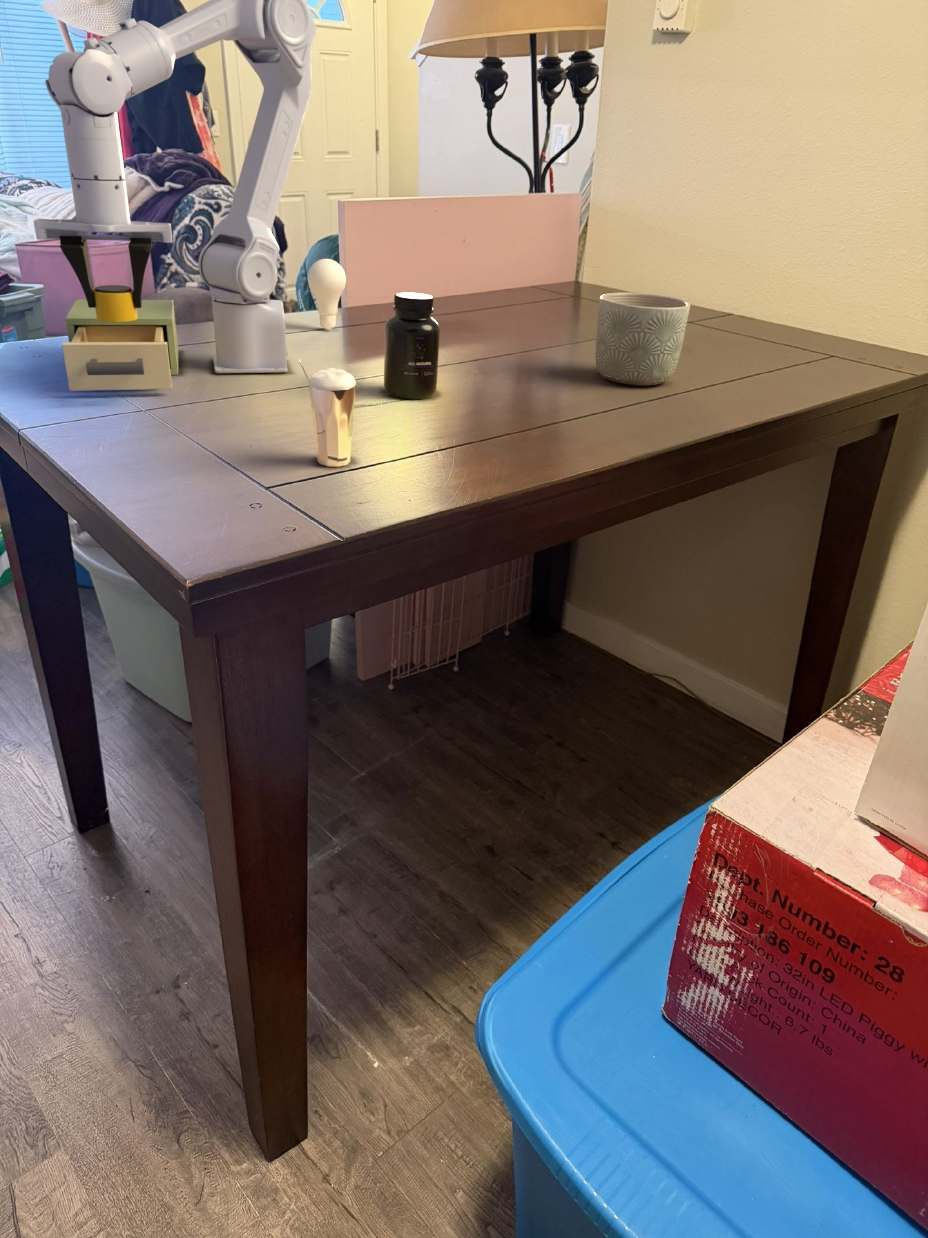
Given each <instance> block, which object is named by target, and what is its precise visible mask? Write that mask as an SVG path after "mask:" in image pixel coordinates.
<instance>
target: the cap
mask: <svg viewBox="0 0 928 1238" xmlns="http://www.w3.org/2000/svg"><path fill="white" fill-rule="evenodd" d="M93 296H94V302H95V310H96V317H97V319H98V320H100V321H104V322H129V321H134V320H136V319H137V318H138V317H137V309H136V308H135V303H134V289H132V287H131V286H127V285H121V284H120V285H118V284H106V285H98V286H95V287H94V290H93Z"/></svg>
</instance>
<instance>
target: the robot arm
mask: <svg viewBox="0 0 928 1238" xmlns="http://www.w3.org/2000/svg"><path fill="white" fill-rule="evenodd" d="M118 25H119V28H120V29H118V30H117V31H115V32H113V33H111V34H108V35H107V36H104V37H101V38H99V39H97V38H96V37H89V38H87V39H84V40H83V45H84V48H83V51H65V52H61V53H59V54H58V55H56V56H55V57H54V58H53V59H52V64H50V65H49V70H48V78H47V79H45V80H44V82H45V86H46V89H47V92H48V95H49V96H50V98H51V100H52V101H53V102H54V104H56V106H57V107H58V109H59V111H60V117H61V123H62V129H63V130H62V131H63V136H64V137H63V138H64V143H65V144H64V145H65V150H66V157H67V164H68V171H69V176H70V184H71V192H72V196H73V197H72V198H73V202H74V203H73V205H74V210H75V219H74V218H73V219H72V218H71V219H70V218H69V219H67V218H65V219H64V218H63V219H61V218H60V219H58V218H57V219H53V218H51V219H44V218H43V219H42V218H36V219H34V220H33V226H34V232H35V237H36V240H59V241H60V244H59V248H60V250H61V252H62V254H63V255H64V256H65V257H64V258H65V259H66V260H67V261H68V263H69V264H70V266H71V268H72V270H73V271H74V273H75V275H76V278H77V279H78V282H79V283H80V286H81V289H82V290H83V293H84V296H85V299H87V303H88V307H89V308H95V302H94V296H93V290H95V287H94V283H93V279H92V274H91V267H90V259H89V248H88V247H89V246H88V241H116V242H117V241H120V242H121V241H122V242H129V243H128V244H127V245H128V254H129V260H130V266H131V274H132V284H133V287H132V288H133V290H134V303H135V308H141V307H142V300H143V298H142V297H143V296H142V295H143V285H144V277H145V272H146V269H147V265H148V261H149V258H150V255H151V252H152V249H153V242H156V243H157V242H158V243H159V242H161V243H167V244H172V243H173V233H172V224H171V222H153V221H151V222H150V221H139V220H138V221H136V220H131V215H130V208H129V206H130V205H129V199H128V191H127V183H126V173H125V167H124V166H125V165H124V158H123V151H122V150H123V149H122V141H121V134H120V125H119V117H118V113H119V112H120V110H121V109H122V107H123V106H124V104H125V101H126V100H128V99H130V98H132V97H134V96H136V95H138V94H140V93H142V92H144V91H146V90H149V89H150V88H153V87H154V86H156V85H158V84H160V83H162V82H164V81H167V80H168V79H169V78H170V77H172V74H173V71H174V66H175V61H176V60H178V59H180V58H182V57H185V56H187V55H190V54H191V53H194V52H197V51H199V50H201V49H203V48H206V47H208V46H210V45H213V44H214V43H217V42H220V41H223V40H224V41H225V42H226V41H227V42H230V41H232V42H233V43H234V45H235V46H236V47H237V49H238V50H239V52H240V53H241V54H242V55H243V57H244V58H245V60H246V61H247V63H248V64H249V65H250V67H251V68H252V69H253V71H254V73H255V74H256V75H257V76H258V78H259V81H260V83H261V84H262V86H263V87H262V88H263V91H262V95H261V99H260V103H259V107H258V110H257V114H256V117H255V121H254V123H253V127H252V131H251V134H250V138H249V141H248V145H247V149H246V152H245V157H244V159H243V163H242V167H241V170H240V173H239V174H240V175H239V177H238V180H237V184H236V188H235V191H234V195H233V198H232V202H231V205H230V209H229V213H228V214H227V216H225V217H224V218H223V219H222V220H221V221H220V222H218V223H217V224H216V225H215V227H214V228H213V231H212V234H211V237H210V239H209V241H208V242H207V243H206V245H204V247H203V248H202V250H201V251H200V253H199V256H198V262H197V264H198V265H197V267H198V268H197V269H198V273H199V276H200V278H201V279H202V281H203V283H204V284H205V285H206V286H208V288H209V296H210V298H211V308H212V319H213V320H212V321H213V332H214V333H213V334H214V344H215V356H213V357H212V360H213V369H214V373H216V374H259V373H261V374H262V373H264V374H265V373H269V374H270V373H288V360H287V359H288V358H287V357H288V345H287V340H286V339H287V337H286V336H287V335H286V319H285V318H286V317H285V310H284V309H285V307H284V303H283V300H280V299H271V298H270V295H271V294H272V293H273V292H274V290H275V288H276V286H277V282H278V265H277V263H278V256H279V252H280V246H279V244H278V242H277V240H276V238H275V236H274V235H273V233H272V228H273V225H274V222H275V218H276V214H277V211H278V208H279V204H280V201H281V197H282V194H283V190H284V188H285V184H286V180H287V177H288V174H289V170H290V168H291V167H290V166H291V164H292V159H293V157H294V152H295V150H296V146H297V143H298V138H299V135H300V132H301V129H302V125H303V121H304V118H305V115H306V112H307V108H308V105H309V101H310V97H311V94H312V54H311V53H312V48H313V45H314V42H315V38H316V34H317V31H318V28H317V25H316V23H315V19H314V18H313V16H312V12H311V10H310V7H309V5H308V2H307V0H208V1H205V2H204V3H202V4H200V5H197V6H196V7H194V8H193V9H191V10H189V11H187V12H185V13H184V14H181V15H180V16H178V17H176V18H174V19H172V20H171V21H168V22H167V23H165V24H163V25H161V26H160V27H157V26H155V25H154V24H152V23H150V22H148V21H146V20H139V21H136V19H135V18H132V17H131V18H126V19H124V20H121V21H119V22H118ZM88 233H104V234H88ZM105 233H108V234H105ZM110 233H112V234H110ZM113 233H114V234H113ZM115 233H116V234H115ZM118 233H122V235H118Z"/></svg>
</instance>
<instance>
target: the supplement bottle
mask: <svg viewBox="0 0 928 1238" xmlns="http://www.w3.org/2000/svg"><path fill="white" fill-rule="evenodd" d="M393 297H394V299H393V306H392V309H393V311H394V312H395V314H394V315H393V316H391V317H389V318H388V319H387V321H386V322H385V328H384V362H383V364H384V365H383V366H384V367H383V368H384V369H383V390H384V391H385V393H386V394H387V395H389V396H392V397H393V398H399V399H405V400H424V399H429V398H432V397H434V396H435V395H436V393H437V387H438V372H439V353H440V352H439V351H440V336H441V335H440V334H441V328H440V325H439V323H438V322H437V321H436V319H434V318H433V317H432V314H433V313H434V297H433V296H432V295H430V294H427V293H419V292H418V293H417V292H399V293H395V294H394V296H393Z"/></svg>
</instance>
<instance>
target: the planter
mask: <svg viewBox="0 0 928 1238" xmlns="http://www.w3.org/2000/svg"><path fill="white" fill-rule="evenodd" d="M598 304H599V305H598V315H597V326H596V337H595V365H596V369H597V371H598V373H599V374H600V375H601V376H602V377H603V378H605V379H606V380H609V381H611V382H614V383H618V384H622V385H629V386H640V387H641V386H644V387H645V386H646V387H649V386H657V385H661V384H664V383H666V382H668V380H670V379H671V378H672V377H673V375H674V374H675V372H676V369H677V366H678V363H679V359H680V356H681V353H682V347H683V344H684V339H685V334H686V330H687V324H688V321H689V314H690V310H691V309H690V308H691V303H690V302H689V301H687V300H684V299H681V298H678V297H672V296H667V295H661V294H654V293H644V292H643V293H642V292H609V293H604V294H601V295H600V297H599V303H598ZM600 372H601V373H600ZM604 374H605V375H604ZM606 375H607V376H606ZM609 376H610V377H609ZM617 378H618V379H617ZM669 378H670V379H669ZM666 379H668V380H666ZM661 380H664V381H661ZM655 381H656V382H655Z"/></svg>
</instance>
